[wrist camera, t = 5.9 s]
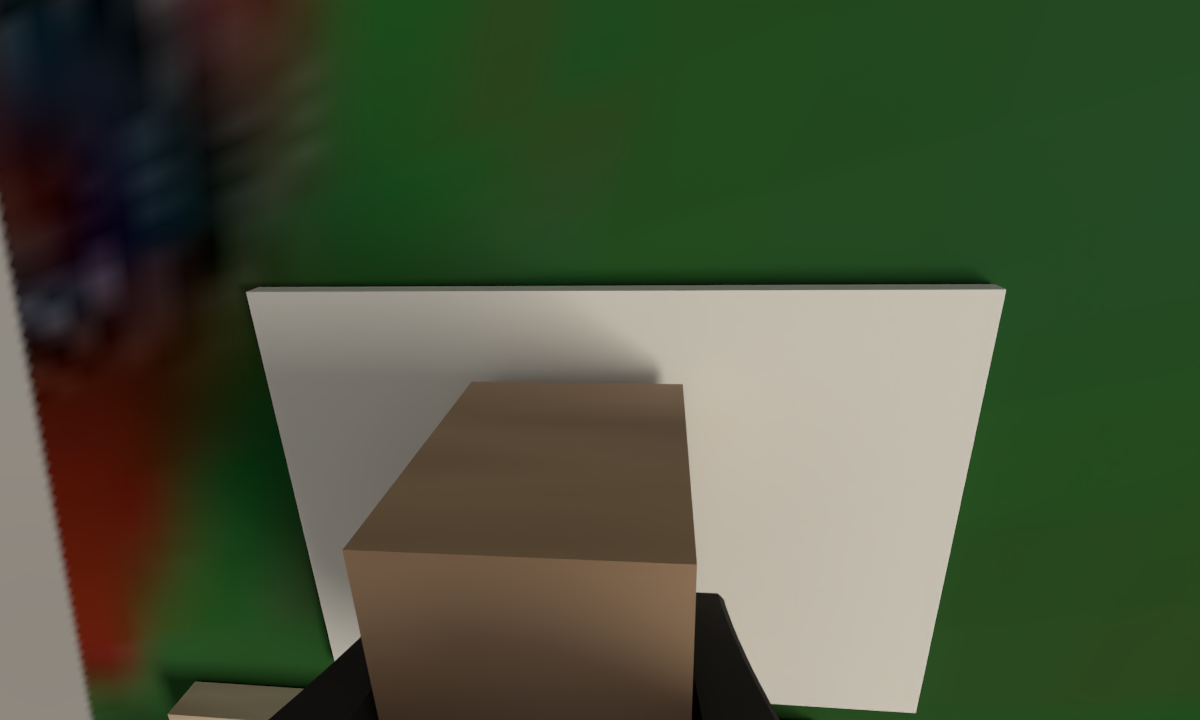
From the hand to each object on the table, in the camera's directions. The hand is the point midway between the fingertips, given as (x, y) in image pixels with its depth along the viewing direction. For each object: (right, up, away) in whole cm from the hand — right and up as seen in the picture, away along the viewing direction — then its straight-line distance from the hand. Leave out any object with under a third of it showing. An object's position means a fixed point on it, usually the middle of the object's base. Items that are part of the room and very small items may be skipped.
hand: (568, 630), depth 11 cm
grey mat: (+1, +2, +3) cm, 3 cm away
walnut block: (0, +1, +2) cm, 2 cm away
